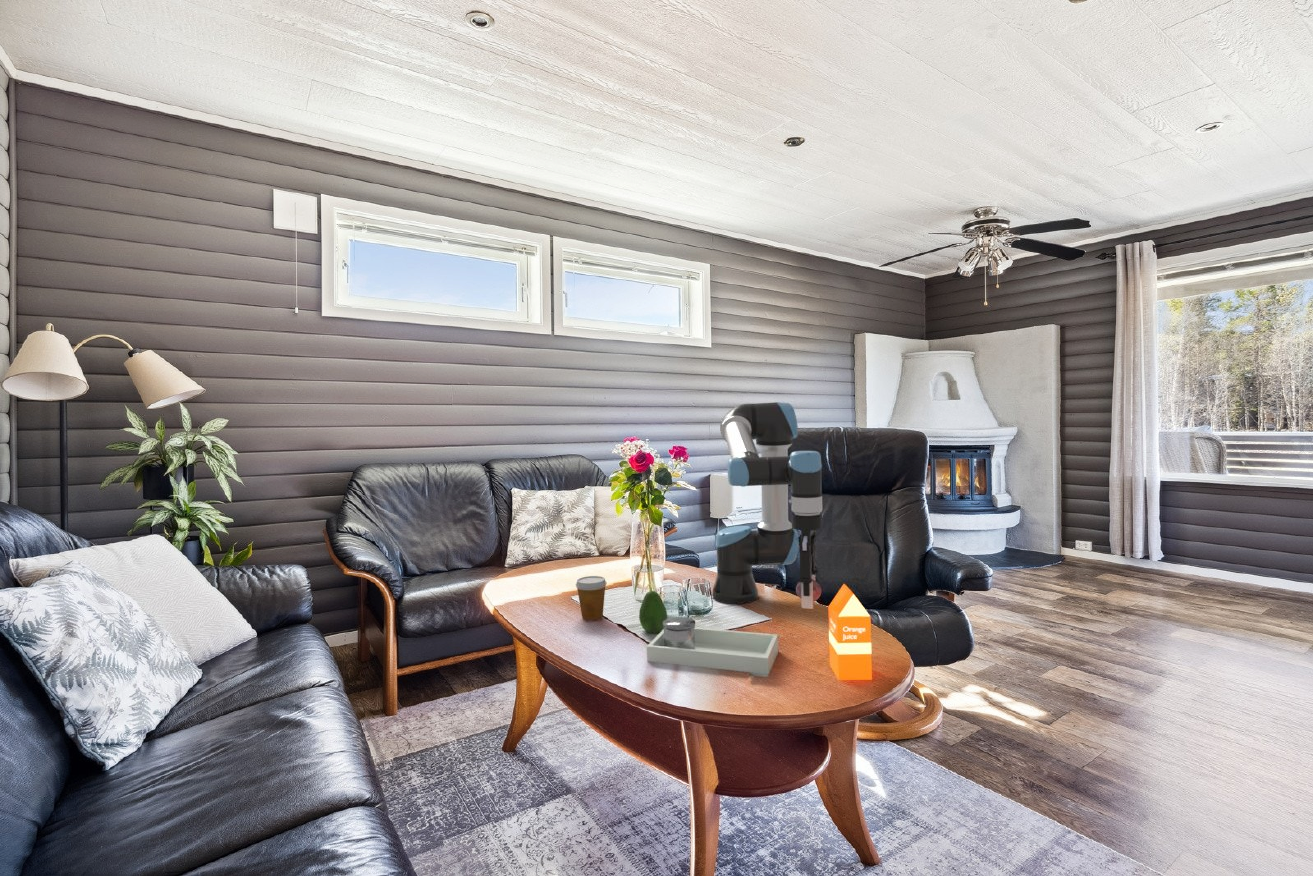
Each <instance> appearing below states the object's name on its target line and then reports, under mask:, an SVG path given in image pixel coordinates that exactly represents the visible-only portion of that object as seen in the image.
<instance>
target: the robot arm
mask: <svg viewBox="0 0 1313 876" xmlns="http://www.w3.org/2000/svg"><path fill="white" fill-rule="evenodd" d="M798 426H799V425H798V420H797V415H796V412H795V409H794V407H793V405H792V404H791V403H789V402H781V401H780V402H778V401H777V402H776V401H775V402H762V403H761V402H759V403H743V404H739V405H736V406H734V407H733V408H731V409H730V410H728V412H727V413H726V414H725V415H724V416H723V418H722V419H721V422H720V435H721V437H722V439H723V440H724V441H725V442H726V443H727V444H726V445H727V448H728V450H729V455H730V458H729V460H727V465H726V466H727V469H726V470H727V479H728V484H729V485H731V486H734V487H743V488H745V487H753V486H754V487H755V486H758V487H759V486H761V520H760V521H759V522H758V523H757V528H756V529H757V530H752V528H751V526H749V525H734V526H729V527H726V528H723V529H721V530H719V531H718V532H717V533H716V542H715V548H716V568H717V569H716V572H717V573H716V574H717V575H716V578H715V580H714V581H715V582H714V585H713V588H712V598H713V600H715V601H718V602H720V603H725V604H747V603H752V602H754V601H757V600H758V599H759V590H758V587H757V584H756V581H755V578H754V576H753V567H755V566H756V567H757V566H761V567H762V566H784V565H792V564H794V562H795V561H796V559H797V557H798V553H799V577H800V578H799V579H797V583H799V582H801V599H800V600H801V602H800V603H801V608H802V609H809V610H810V609H812V610H814V602H813V582H812V579H813V580H815V581H816V575H818V574H819V570H817V569H816V568H817V566H816V548H817V547H816V541H817V535H816V532H815V531H819V530H822V528H823V515H822V512H823V494H822V492H823V491H822V490H823V489H822V485H823V484H822V483H823V482H822V468H823V464H822V457H821V453H820V451H816V450H795V451H792V452H790V455H788V453H789V451H788V449H789V448H790V447H791V446H792V445H793V439H796V438H797V437H798V435H799V434H798V432H799V428H798ZM754 440H755V441H754ZM756 446H757V447H758V448H759V449H760V456H759V453H758V449H757V448H756ZM789 485H790V496H791V498H790V499H789ZM789 504H791V512H793V513H792V514H791V516H790V517H791V521H790V520H789ZM798 530H799V531H800V534H799V533H798Z"/></svg>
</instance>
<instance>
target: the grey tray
mask: <svg viewBox="0 0 1313 876" xmlns="http://www.w3.org/2000/svg"><path fill="white" fill-rule="evenodd" d="M779 651H780V650H779V634H773V633H762V632H752V631H741V630H740V631H739V630H729V629H715V628H705V627H695V649H685V648H675V647H664V629H663V630H662V631H661V632H660V633H657V635H656V636H655V637H654V639H652V640H651V641H650V643H649V644H648V645H647V646H646V657H647V658H646V659H647V660H646V661H647V662H652V663H661V664H669V665H670V664H671V665H679V666H688V667H697V668H698V667H699V668H707V669H714V670H715V669H716V670H723V671H724V670H725V671H735V672H743V673H744V672H745V673H749V676H751V677H759V678H760V677H762V678H769V676H770V674H771V671H772V669H773V667H774V664H775V661H776V659H777V657H778V654H779Z"/></svg>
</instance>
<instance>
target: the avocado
mask: <svg viewBox="0 0 1313 876" xmlns="http://www.w3.org/2000/svg"><path fill="white" fill-rule="evenodd" d="M638 619H639V622H640V626H641V627H642V629H643V630H644V631H646V632H647V633H651V634H659V633H660V632H661V631H662V630H663V629H664V627H663V621H664V620H666V619H668V611H667V609H666V606H665V603H664V602H663V600H662V597H661V596H660V594H659V593H658V592H657V591H655V590H651V591H650V590H649V591H648V592H646V594H645V595H644V597H643V599H642V602H641V605H640V607H639V616H638Z"/></svg>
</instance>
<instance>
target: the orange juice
mask: <svg viewBox="0 0 1313 876" xmlns="http://www.w3.org/2000/svg"><path fill="white" fill-rule="evenodd" d="M871 622H872V621H871V615H870V614H869V613H868V611H867V609H865V607H864V606H863V605H862V603H861V602H860V600H859V599H858V597H856V595H855V594H854V593H853V591H852V590H851V589H850V588H849V587H848V586H847V585H846V584H845V583H843V585H841V587H840V588H839V590H838V592H837V593H836V594H835V596H834V598H833V599H832V601H831V602H830V604H829V605H828V641H829V645H828V647H829V666H830V667H831V669H832V671H833V672H834V675H835V677H836V678H837V680H838V681H862V680H863V681H868V680H869V681H872V680H873V676H872V675H873V671H872V669H873V667H872V664H873V663H872V632H871V631H872V630H871V629H872V623H871Z"/></svg>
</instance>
